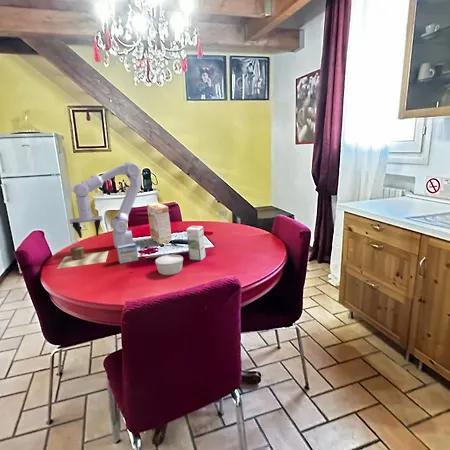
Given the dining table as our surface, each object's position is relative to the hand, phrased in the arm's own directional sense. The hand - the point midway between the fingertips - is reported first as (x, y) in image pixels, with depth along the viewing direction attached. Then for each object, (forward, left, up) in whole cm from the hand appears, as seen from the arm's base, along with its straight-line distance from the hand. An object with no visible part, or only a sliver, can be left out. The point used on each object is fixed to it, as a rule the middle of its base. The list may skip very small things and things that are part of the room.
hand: (89, 236), depth 162 cm
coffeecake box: (-34, -9, -10) cm, 36 cm away
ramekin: (-35, +36, -10) cm, 51 cm away
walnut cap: (+5, +7, -8) cm, 12 cm away
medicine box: (-18, +20, -10) cm, 29 cm away
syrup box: (-48, +26, -10) cm, 55 cm away
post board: (+2, +10, -9) cm, 14 cm away
